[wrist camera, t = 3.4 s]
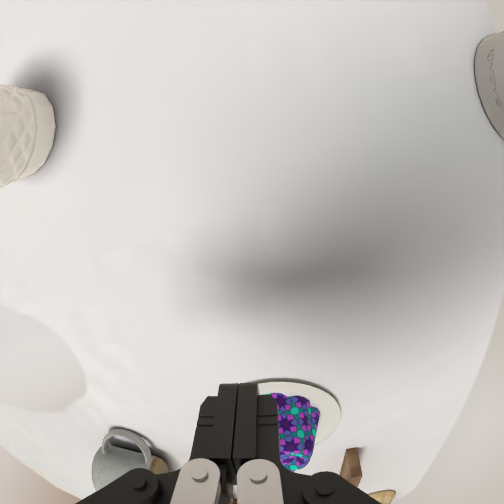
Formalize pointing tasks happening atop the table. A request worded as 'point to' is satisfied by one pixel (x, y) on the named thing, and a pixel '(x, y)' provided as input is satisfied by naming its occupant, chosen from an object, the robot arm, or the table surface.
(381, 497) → the hand bell
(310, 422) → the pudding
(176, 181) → the table surface
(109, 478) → the ceramic mug
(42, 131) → the white cup
